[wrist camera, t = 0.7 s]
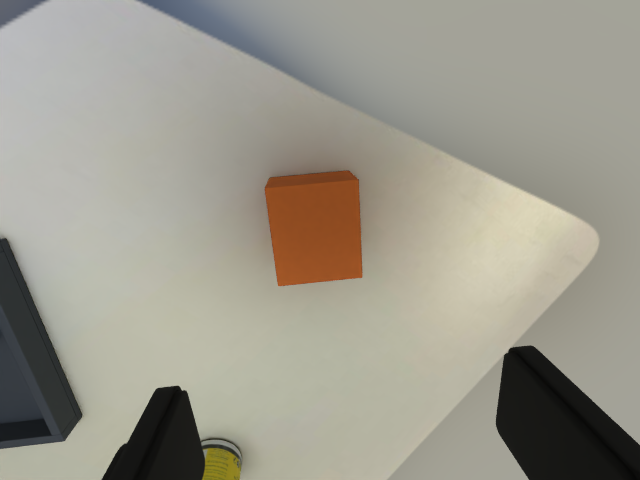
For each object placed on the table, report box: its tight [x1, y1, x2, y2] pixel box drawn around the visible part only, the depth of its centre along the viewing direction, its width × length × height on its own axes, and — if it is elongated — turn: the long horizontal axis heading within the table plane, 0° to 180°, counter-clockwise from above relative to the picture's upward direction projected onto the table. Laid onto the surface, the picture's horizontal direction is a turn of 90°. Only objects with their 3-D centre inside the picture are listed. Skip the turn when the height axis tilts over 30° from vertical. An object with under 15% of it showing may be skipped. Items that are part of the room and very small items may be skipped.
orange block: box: [265, 171, 362, 286], centre depth 24 cm, size 7×6×4 cm
